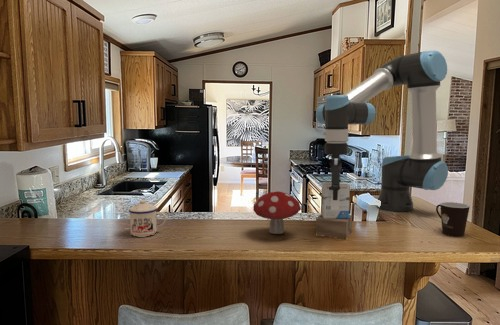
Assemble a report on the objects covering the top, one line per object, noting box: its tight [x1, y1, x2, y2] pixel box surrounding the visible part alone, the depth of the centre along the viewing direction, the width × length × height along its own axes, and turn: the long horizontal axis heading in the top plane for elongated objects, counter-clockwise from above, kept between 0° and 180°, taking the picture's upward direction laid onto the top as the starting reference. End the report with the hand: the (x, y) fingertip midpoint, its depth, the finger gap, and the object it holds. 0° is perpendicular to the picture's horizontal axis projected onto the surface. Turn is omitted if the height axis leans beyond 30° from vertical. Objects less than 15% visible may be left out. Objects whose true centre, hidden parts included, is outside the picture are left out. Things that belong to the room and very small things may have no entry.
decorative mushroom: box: [253, 190, 302, 235], centre depth 121 cm, size 16×16×15 cm
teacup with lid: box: [128, 199, 167, 235], centre depth 123 cm, size 12×9×12 cm
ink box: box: [321, 181, 351, 219], centre depth 122 cm, size 8×5×12 cm, turn 88°
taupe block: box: [315, 213, 353, 240], centre depth 123 cm, size 10×10×6 cm
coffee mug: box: [435, 201, 470, 238], centre depth 123 cm, size 12×9×10 cm
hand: (334, 205), depth 123 cm, fingers open, 13 cm apart
